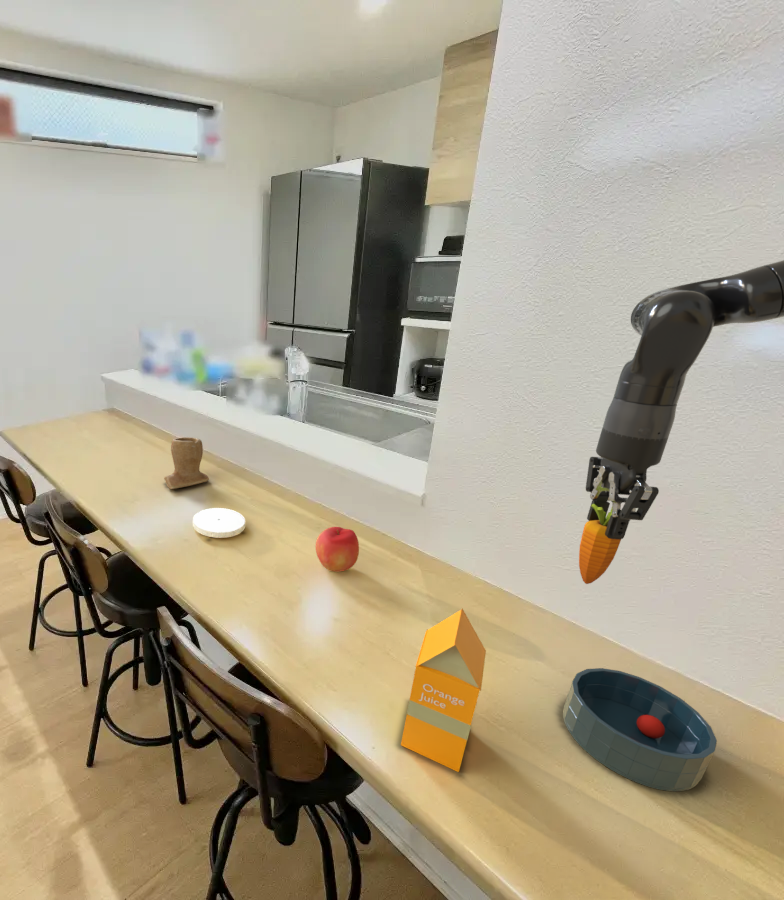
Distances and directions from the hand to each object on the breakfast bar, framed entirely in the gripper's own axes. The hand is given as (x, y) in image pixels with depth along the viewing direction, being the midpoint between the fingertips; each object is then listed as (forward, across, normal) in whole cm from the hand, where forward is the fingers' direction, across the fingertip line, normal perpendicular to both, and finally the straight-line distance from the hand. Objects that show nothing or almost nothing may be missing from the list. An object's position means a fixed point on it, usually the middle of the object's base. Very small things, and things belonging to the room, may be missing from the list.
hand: (603, 529), depth 80 cm
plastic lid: (+25, +32, +68) cm, 79 cm away
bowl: (+25, -18, -1) cm, 31 cm away
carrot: (+11, 0, 0) cm, 11 cm away
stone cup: (+25, +59, +84) cm, 106 cm away
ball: (+23, -17, -4) cm, 29 cm away
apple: (+25, +19, +39) cm, 50 cm away
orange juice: (+25, -23, +27) cm, 43 cm away
